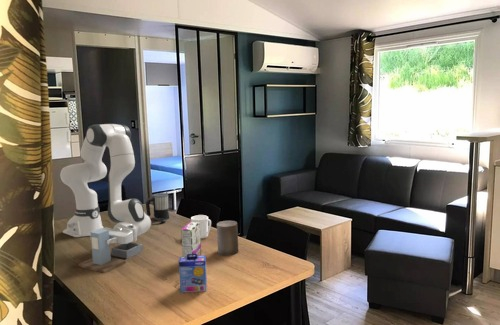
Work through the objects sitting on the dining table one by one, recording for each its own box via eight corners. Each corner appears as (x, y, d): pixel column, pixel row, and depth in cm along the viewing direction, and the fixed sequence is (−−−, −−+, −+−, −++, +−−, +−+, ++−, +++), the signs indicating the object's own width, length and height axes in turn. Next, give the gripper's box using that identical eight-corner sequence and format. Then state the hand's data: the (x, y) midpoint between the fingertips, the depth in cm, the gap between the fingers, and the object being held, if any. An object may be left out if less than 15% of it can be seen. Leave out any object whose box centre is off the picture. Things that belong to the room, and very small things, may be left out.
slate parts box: (92, 263, 178) (90, 232, 176) (103, 259, 182) (100, 228, 180) (100, 265, 175) (98, 233, 173) (111, 260, 180) (108, 230, 178)
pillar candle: (242, 251, 191) (241, 220, 189) (227, 257, 184) (226, 224, 182) (228, 246, 198) (227, 216, 196) (213, 252, 191) (212, 221, 189)
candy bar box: (191, 256, 186) (189, 221, 184) (201, 257, 185) (200, 222, 183) (182, 266, 175) (180, 229, 173) (193, 266, 174) (191, 229, 172)
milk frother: (164, 215, 258) (163, 192, 255) (178, 220, 246) (177, 196, 244) (144, 220, 248) (142, 196, 246) (157, 225, 237) (155, 200, 234)
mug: (188, 238, 212) (187, 219, 210) (197, 233, 220) (196, 214, 218) (207, 240, 208) (206, 220, 206) (215, 235, 216) (214, 216, 214)
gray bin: (112, 255, 190) (111, 248, 189) (128, 248, 199) (127, 241, 198) (127, 258, 185) (126, 251, 185) (142, 251, 194) (142, 244, 194)
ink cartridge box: (179, 293, 150) (177, 255, 148) (181, 286, 155) (179, 250, 153) (206, 291, 150) (205, 254, 148) (207, 285, 156) (205, 248, 154)
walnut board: (78, 266, 178) (78, 263, 177) (100, 257, 188) (100, 254, 188) (104, 273, 170) (104, 270, 170) (125, 262, 180) (125, 260, 180)
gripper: (106, 222, 193) (81, 230, 181) (138, 227, 183) (114, 236, 171) (107, 235, 194) (83, 244, 182) (139, 241, 184) (115, 251, 172)
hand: (98, 240), depth 177 cm, fingers open, 8 cm apart
